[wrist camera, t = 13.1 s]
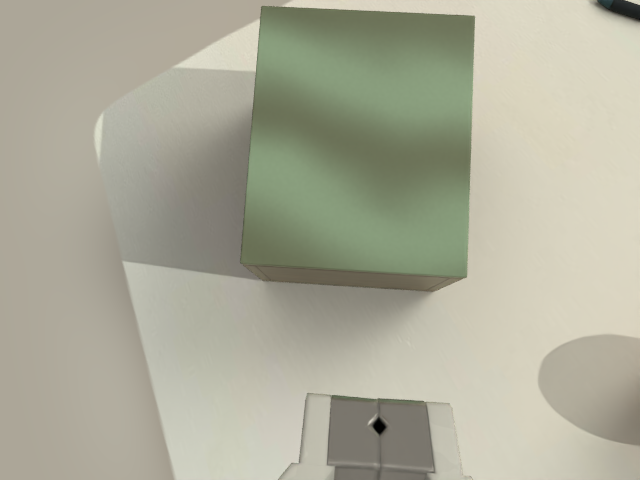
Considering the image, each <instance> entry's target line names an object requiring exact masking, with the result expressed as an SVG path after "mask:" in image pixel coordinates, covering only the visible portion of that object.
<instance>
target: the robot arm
mask: <svg viewBox="0 0 640 480" xmlns="http://www.w3.org/2000/svg"><path fill="white" fill-rule="evenodd" d="M330 404H331V408H330ZM329 423H330V424H329ZM278 480H473V479H472V477H471V476H463V471H462V465H461V459H460V452H459V446H458V440H457V434H456V428H455V422H454V416H453V410H452V407H451V405H450V404H449V403H437V402H424V401H414V400H396V399H368V398H358V397H347V396H337V395H326V394H313V393H307V396H306V400H305V409H304V419H303V428H302V438H301V447H300V457H299V463H291V464H290V466H289V467H288V468H287V469H286V470H285V472H284V473H283V474H282V475H281V476H280V478H279V479H278Z"/></svg>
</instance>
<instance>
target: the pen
mask: <svg viewBox="0 0 640 480" xmlns="http://www.w3.org/2000/svg"><path fill="white" fill-rule="evenodd" d="M598 2H599V3H601V4H602V5H603V6H605V7H606V8H608V9H609V10H612V11H615V12H618V13H621V14H624V15H627V16H630V17H633V18H636V19H640V5H638V4H634V3H631V2H628V1H625V0H598Z"/></svg>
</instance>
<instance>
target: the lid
mask: <svg viewBox="0 0 640 480" xmlns="http://www.w3.org/2000/svg"><path fill="white" fill-rule="evenodd" d="M474 30H475V16H467V15H445V14H424V13H402V12H380V11H359V10H337V9H316V8H294V7H272V6H262V7H261V17H260V29H259V41H258V53H257V65H256V78H255V90H254V102H253V114H252V126H251V138H250V150H249V162H248V174H247V186H246V198H245V210H244V222H243V234H242V246H241V258H240V263H241V264H243V265H257V266H273V267H289V268H305V269H321V270H337V271H353V272H369V273H385V274H401V275H418V276H434V277H450V278H466V277H467V261H468V228H469V195H470V162H471V129H472V96H473V63H474Z"/></svg>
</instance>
